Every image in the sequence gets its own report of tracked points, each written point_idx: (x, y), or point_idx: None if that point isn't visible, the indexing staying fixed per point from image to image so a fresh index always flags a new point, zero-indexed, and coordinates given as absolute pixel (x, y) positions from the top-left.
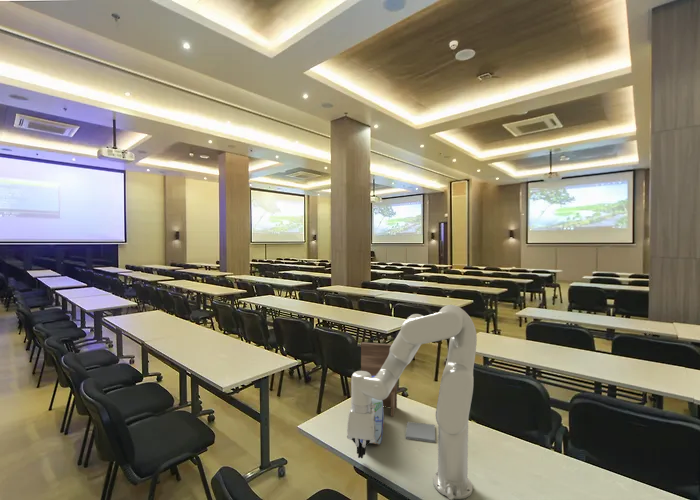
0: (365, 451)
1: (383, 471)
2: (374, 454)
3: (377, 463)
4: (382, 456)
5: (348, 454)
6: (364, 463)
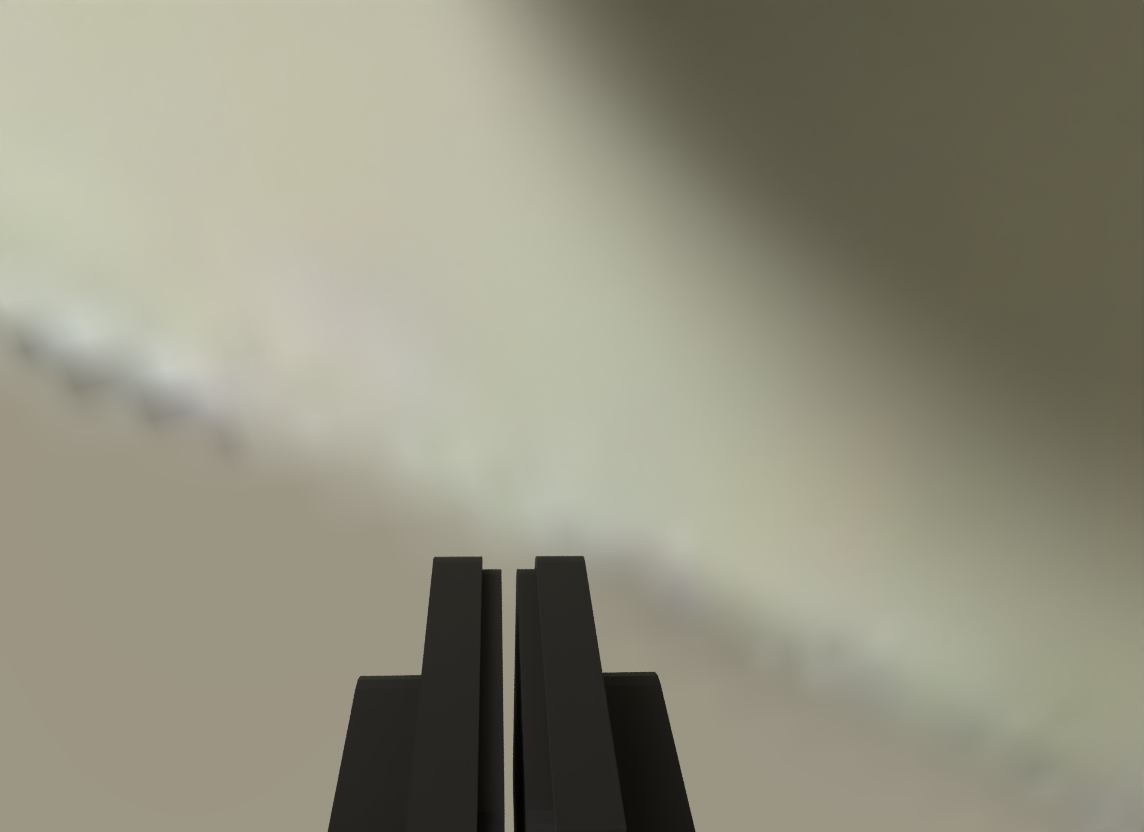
0: (661, 695)
1: (1064, 698)
2: (860, 85)
3: (939, 474)
4: (1109, 137)
5: (23, 266)
6: (597, 546)
